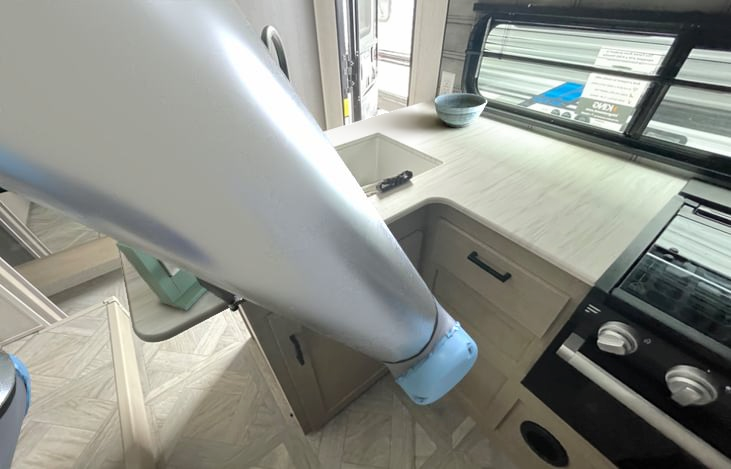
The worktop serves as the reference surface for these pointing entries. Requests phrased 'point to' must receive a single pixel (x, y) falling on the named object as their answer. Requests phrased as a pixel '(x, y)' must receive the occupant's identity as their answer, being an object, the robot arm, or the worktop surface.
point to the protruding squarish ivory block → (169, 268)
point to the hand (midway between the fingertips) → (179, 256)
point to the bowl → (459, 108)
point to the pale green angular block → (164, 279)
